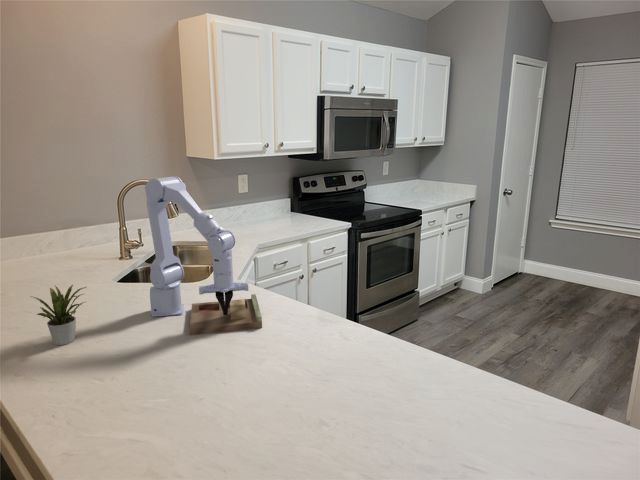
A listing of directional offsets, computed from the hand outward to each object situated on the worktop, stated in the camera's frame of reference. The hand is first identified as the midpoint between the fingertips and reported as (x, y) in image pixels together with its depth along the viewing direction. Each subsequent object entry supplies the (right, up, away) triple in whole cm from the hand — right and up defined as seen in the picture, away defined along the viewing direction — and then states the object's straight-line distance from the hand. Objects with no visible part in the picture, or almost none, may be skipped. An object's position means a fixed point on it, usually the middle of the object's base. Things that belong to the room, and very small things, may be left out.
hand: (225, 314), depth 139 cm
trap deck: (-1, -2, +5) cm, 5 cm away
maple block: (+4, -1, +1) cm, 4 cm away
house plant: (-42, -6, -11) cm, 44 cm away
